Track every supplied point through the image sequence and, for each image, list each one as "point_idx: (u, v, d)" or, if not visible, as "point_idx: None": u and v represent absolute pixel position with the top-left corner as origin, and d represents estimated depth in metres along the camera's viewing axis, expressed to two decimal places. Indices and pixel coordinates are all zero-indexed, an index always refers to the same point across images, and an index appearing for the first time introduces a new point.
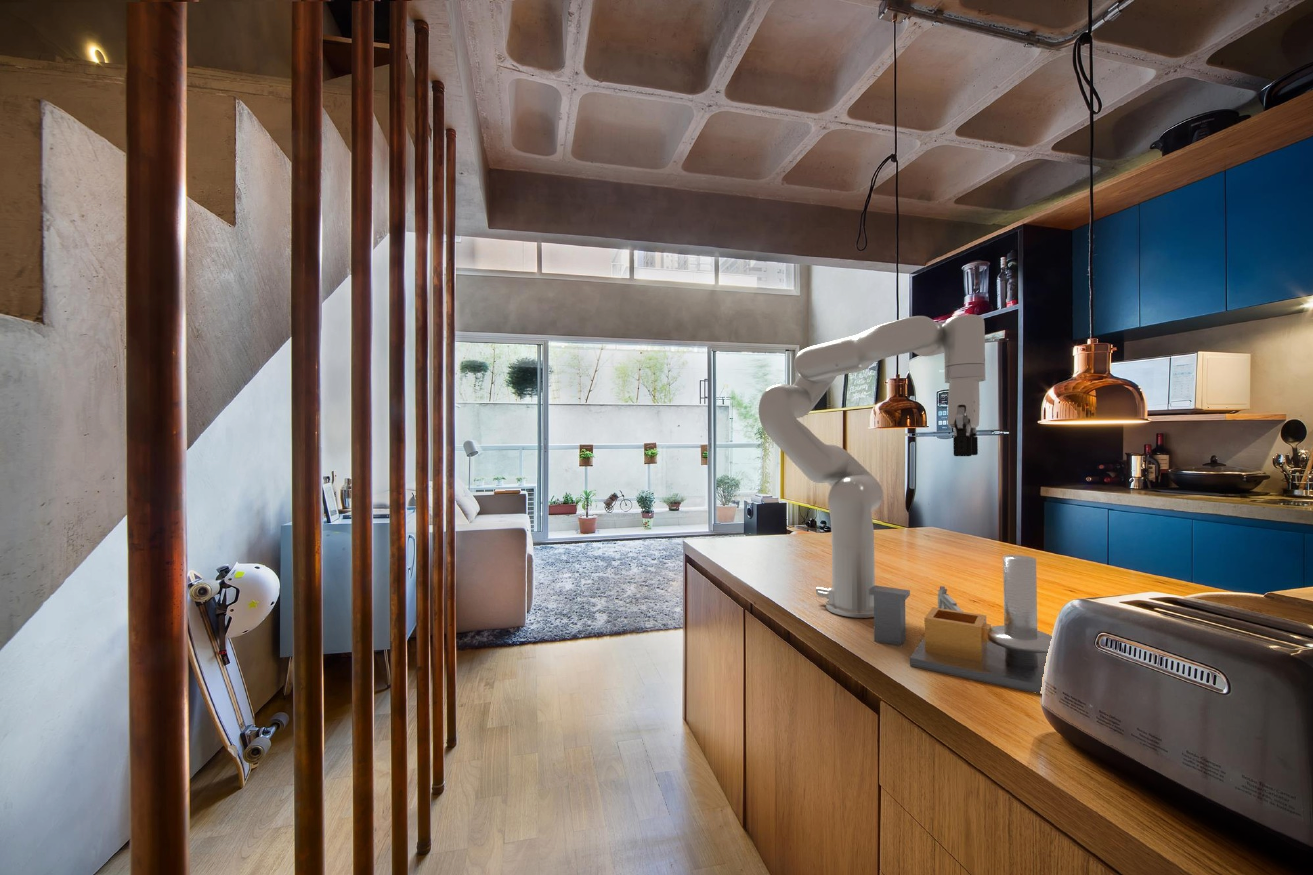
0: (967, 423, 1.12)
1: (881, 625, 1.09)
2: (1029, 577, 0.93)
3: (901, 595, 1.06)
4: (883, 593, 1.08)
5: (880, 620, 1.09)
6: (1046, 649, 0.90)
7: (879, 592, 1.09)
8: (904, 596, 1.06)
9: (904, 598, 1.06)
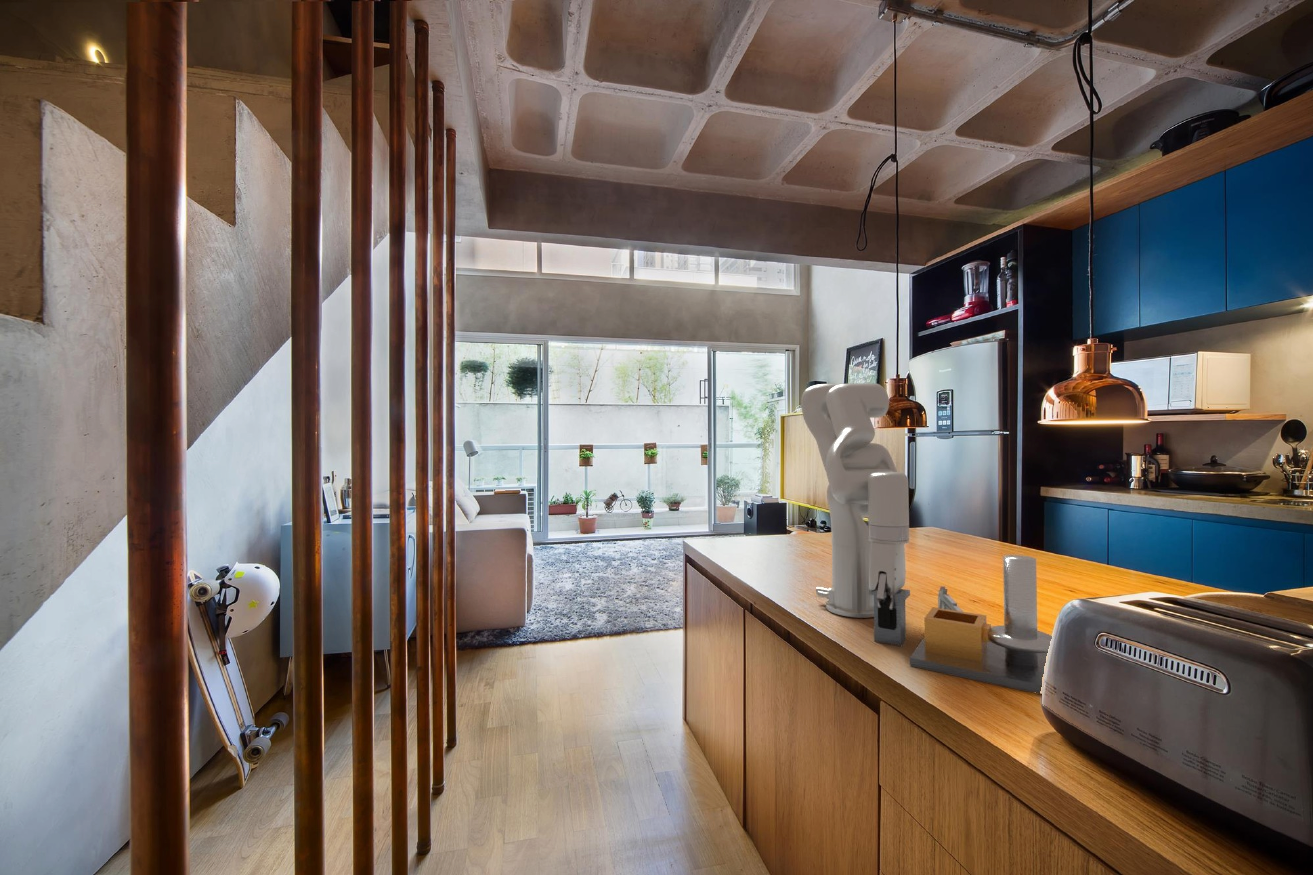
0: (890, 595, 1.07)
1: None
2: (1029, 577, 0.93)
3: (901, 595, 1.06)
4: None
5: None
6: (1046, 649, 0.90)
7: None
8: (904, 596, 1.06)
9: (904, 598, 1.06)
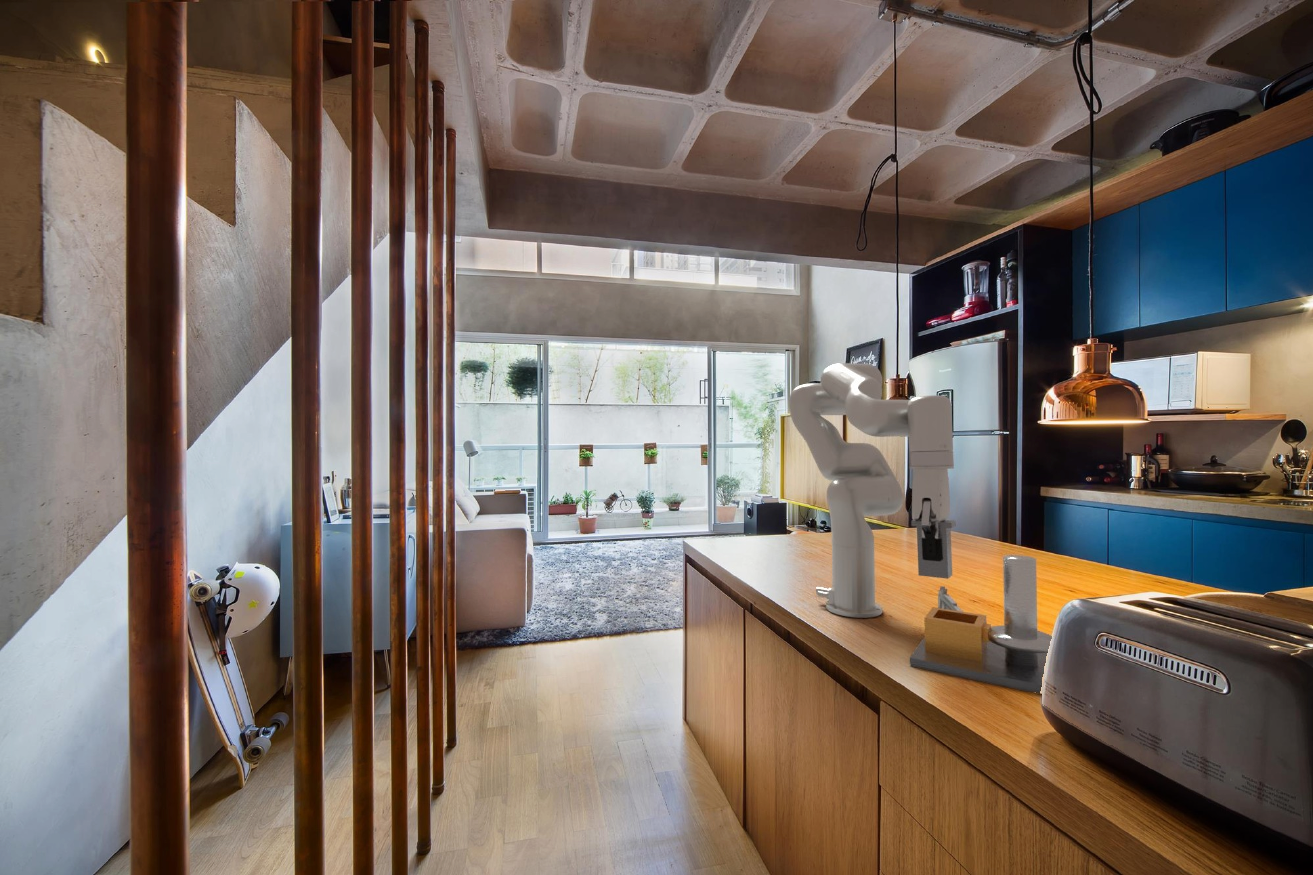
0: (935, 523, 1.00)
1: None
2: (1029, 577, 0.93)
3: (947, 523, 1.00)
4: None
5: None
6: (1046, 649, 0.90)
7: None
8: (950, 524, 1.00)
9: (950, 526, 1.00)
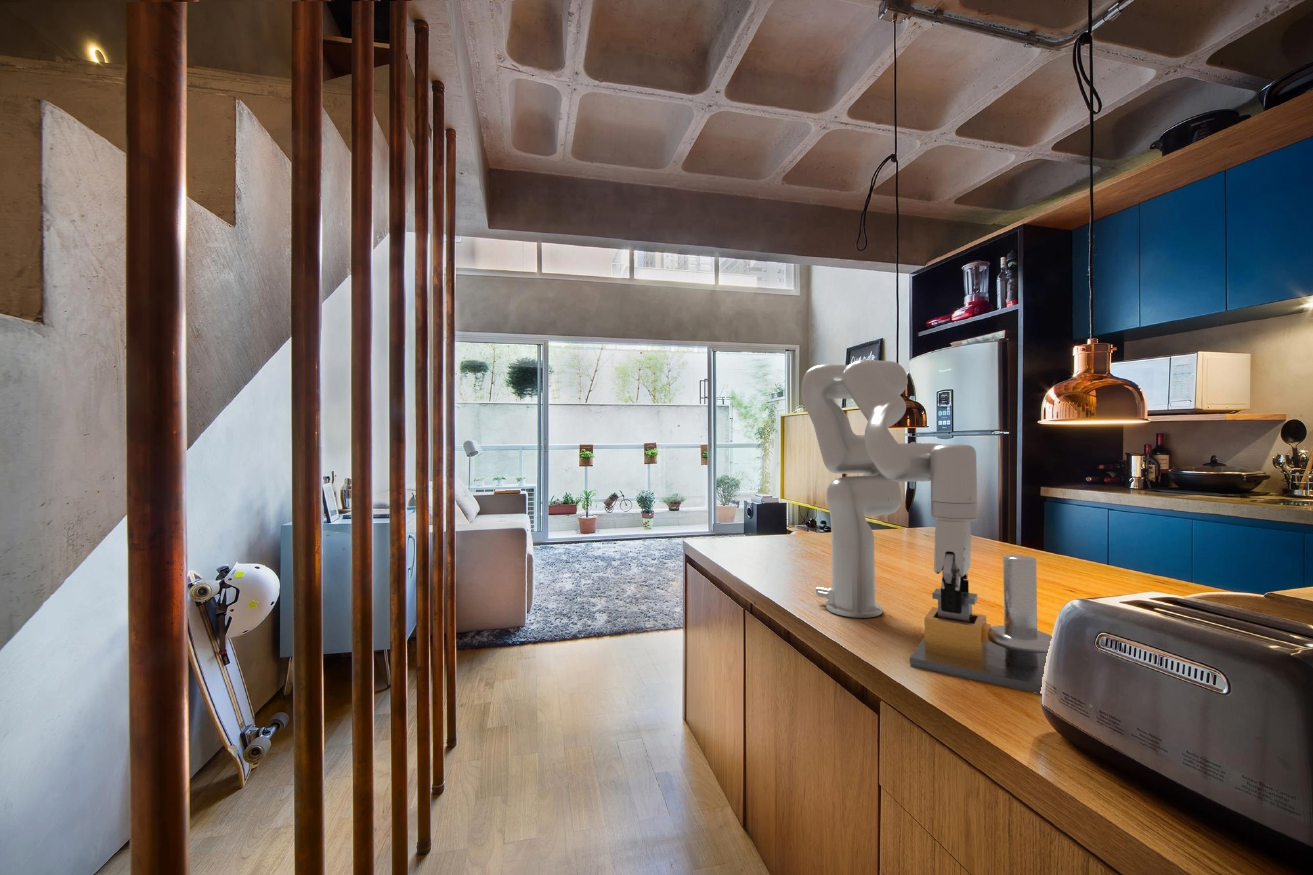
0: (956, 574, 0.97)
1: None
2: (1029, 577, 0.93)
3: (970, 599, 0.98)
4: None
5: None
6: (1046, 649, 0.90)
7: None
8: (973, 600, 0.98)
9: (973, 603, 0.98)
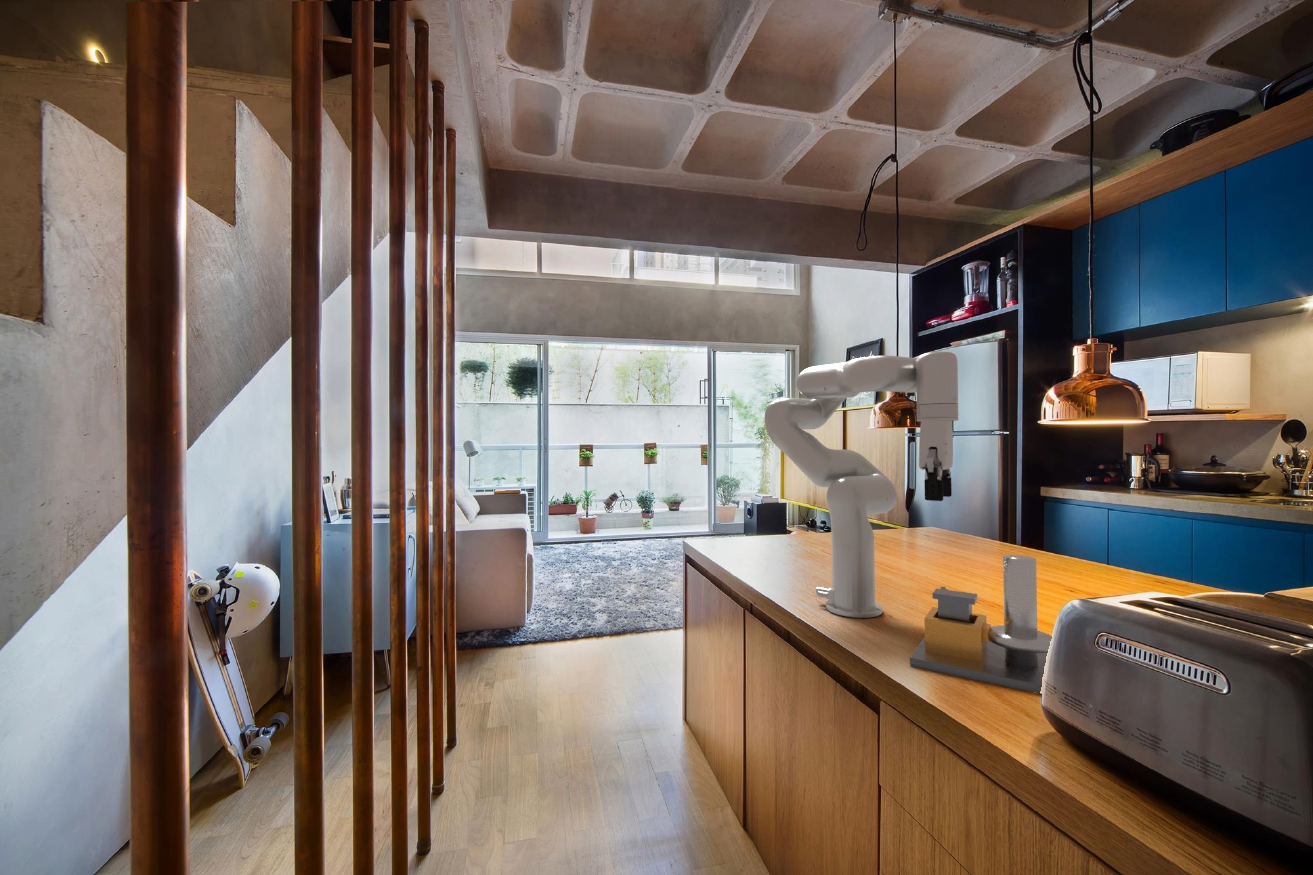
0: (939, 466, 1.07)
1: None
2: (1029, 577, 0.93)
3: (970, 599, 0.98)
4: (949, 597, 1.00)
5: None
6: (1046, 649, 0.90)
7: (944, 596, 1.00)
8: (973, 600, 0.98)
9: (973, 603, 0.98)
